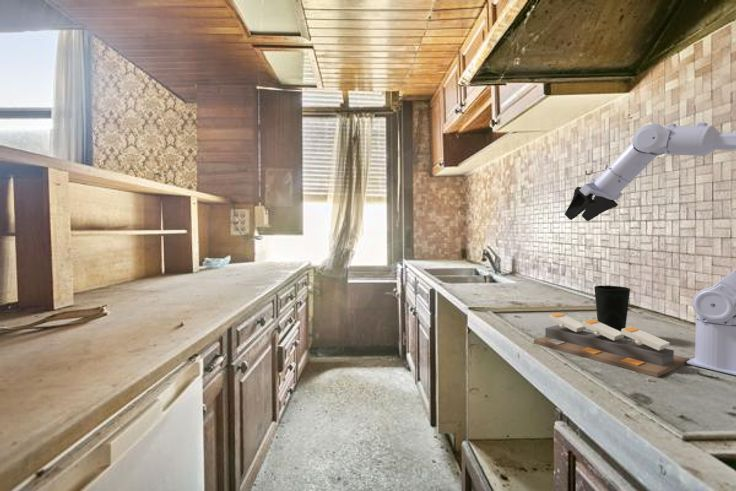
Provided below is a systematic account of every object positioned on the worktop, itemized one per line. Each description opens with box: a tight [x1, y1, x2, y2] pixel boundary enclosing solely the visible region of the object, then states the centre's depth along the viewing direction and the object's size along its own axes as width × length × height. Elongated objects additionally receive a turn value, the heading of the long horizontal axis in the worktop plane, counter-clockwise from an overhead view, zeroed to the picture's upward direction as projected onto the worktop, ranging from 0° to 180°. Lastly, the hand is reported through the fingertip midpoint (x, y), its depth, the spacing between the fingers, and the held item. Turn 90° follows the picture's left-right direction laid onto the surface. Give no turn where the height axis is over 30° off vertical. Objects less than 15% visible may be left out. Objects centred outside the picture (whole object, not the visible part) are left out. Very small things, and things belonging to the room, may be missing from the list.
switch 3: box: [621, 326, 671, 351], centre depth 76 cm, size 7×4×2 cm, turn 31°
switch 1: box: [548, 312, 587, 332], centre depth 90 cm, size 7×4×2 cm, turn 31°
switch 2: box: [581, 318, 625, 340], centre depth 83 cm, size 7×4×2 cm, turn 31°
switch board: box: [533, 324, 690, 378], centre depth 82 cm, size 25×14×3 cm, turn 31°
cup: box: [593, 285, 631, 337], centre depth 96 cm, size 8×8×12 cm
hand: (576, 217), depth 94 cm, fingers open, 7 cm apart
